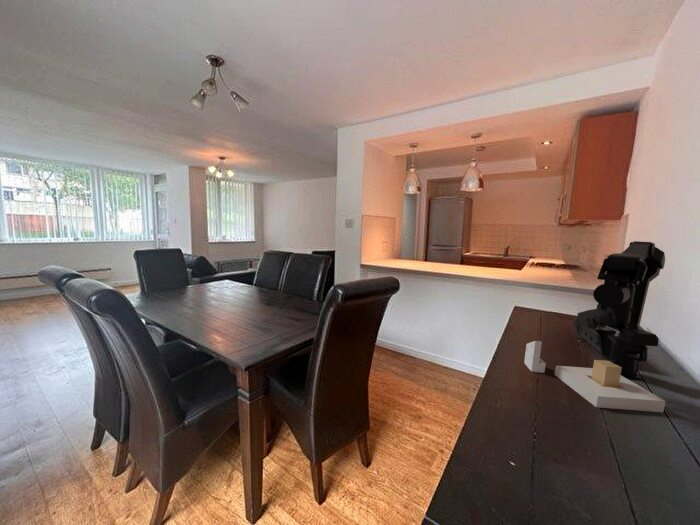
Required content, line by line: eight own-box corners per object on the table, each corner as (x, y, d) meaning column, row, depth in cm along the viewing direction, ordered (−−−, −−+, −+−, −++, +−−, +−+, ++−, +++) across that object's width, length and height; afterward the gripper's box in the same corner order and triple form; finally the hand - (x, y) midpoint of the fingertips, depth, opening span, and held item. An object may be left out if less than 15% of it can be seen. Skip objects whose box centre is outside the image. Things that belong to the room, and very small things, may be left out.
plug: (604, 387, 81) (608, 360, 80) (617, 395, 77) (621, 367, 76) (590, 386, 81) (594, 359, 80) (602, 394, 77) (606, 366, 76)
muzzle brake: (597, 362, 98) (601, 333, 97) (569, 335, 124) (573, 312, 123) (632, 368, 95) (638, 338, 93) (596, 339, 120) (600, 315, 119)
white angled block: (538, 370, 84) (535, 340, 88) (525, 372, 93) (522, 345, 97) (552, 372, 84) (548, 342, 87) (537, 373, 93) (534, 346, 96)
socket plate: (609, 378, 86) (610, 369, 86) (663, 412, 70) (665, 401, 70) (554, 374, 87) (555, 365, 87) (596, 407, 71) (597, 396, 71)
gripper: (562, 292, 85) (555, 342, 87) (616, 310, 67) (606, 372, 69) (601, 294, 85) (593, 344, 87) (666, 313, 66) (654, 375, 68)
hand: (608, 357), depth 78 cm, fingers open, 3 cm apart
